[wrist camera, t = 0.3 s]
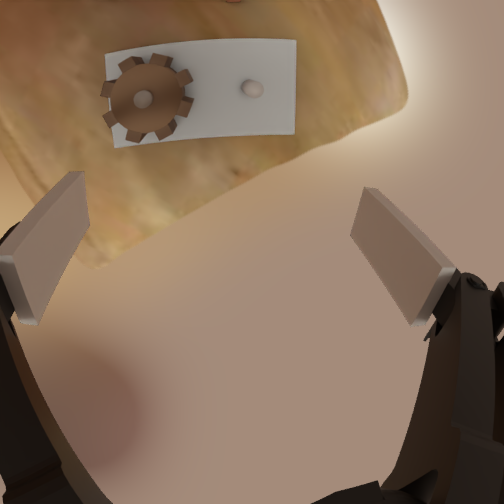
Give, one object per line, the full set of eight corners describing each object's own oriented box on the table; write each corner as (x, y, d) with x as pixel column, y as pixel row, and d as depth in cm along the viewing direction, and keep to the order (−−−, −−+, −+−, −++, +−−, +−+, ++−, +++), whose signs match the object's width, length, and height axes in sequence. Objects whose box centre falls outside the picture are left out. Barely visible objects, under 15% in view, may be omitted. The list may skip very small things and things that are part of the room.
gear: (111, 62, 28) (93, 63, 23) (192, 50, 29) (189, 47, 24) (118, 137, 33) (103, 151, 28) (196, 128, 34) (193, 140, 29)
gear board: (109, 54, 29) (90, 53, 23) (292, 41, 31) (309, 36, 26) (118, 144, 36) (102, 160, 30) (290, 131, 38) (306, 144, 32)
